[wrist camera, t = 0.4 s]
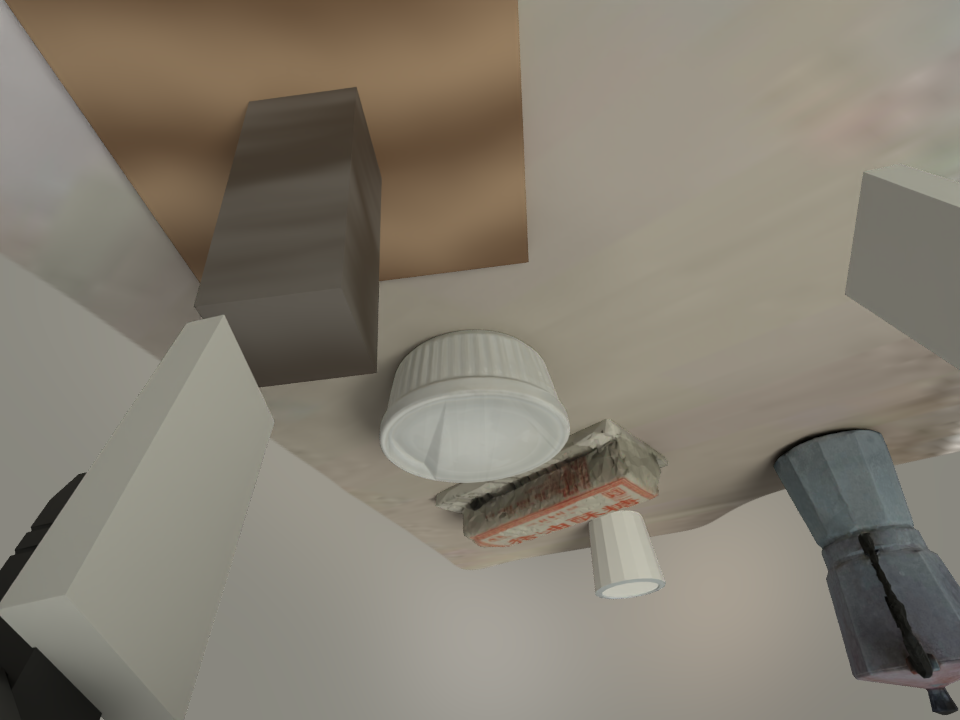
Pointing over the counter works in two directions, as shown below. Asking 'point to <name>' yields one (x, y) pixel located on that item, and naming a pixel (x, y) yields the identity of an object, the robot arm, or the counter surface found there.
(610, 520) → the white cup
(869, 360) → the counter surface
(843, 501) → the moka pot
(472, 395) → the ramekin
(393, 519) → the counter surface
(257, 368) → the board with upright post
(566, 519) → the packaged product
